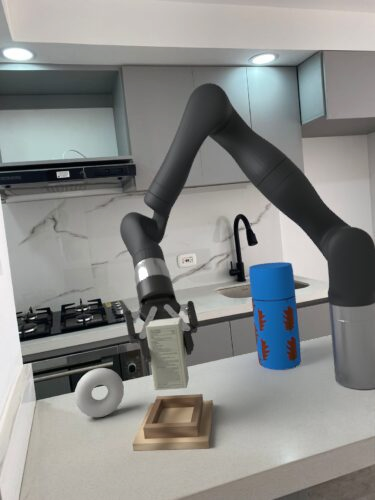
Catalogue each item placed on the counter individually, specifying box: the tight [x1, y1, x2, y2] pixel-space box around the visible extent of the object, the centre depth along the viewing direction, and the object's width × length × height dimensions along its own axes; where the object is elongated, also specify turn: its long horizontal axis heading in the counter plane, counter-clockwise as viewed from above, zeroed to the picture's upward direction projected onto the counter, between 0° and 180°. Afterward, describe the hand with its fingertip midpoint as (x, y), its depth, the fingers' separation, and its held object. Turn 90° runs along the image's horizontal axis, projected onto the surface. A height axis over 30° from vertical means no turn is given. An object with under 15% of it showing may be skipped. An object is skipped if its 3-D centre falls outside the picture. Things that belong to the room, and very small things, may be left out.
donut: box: [74, 367, 125, 418], centre depth 74 cm, size 10×4×10 cm, turn 109°
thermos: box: [248, 261, 302, 371], centre depth 91 cm, size 11×11×25 cm
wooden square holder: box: [132, 393, 214, 451], centre depth 67 cm, size 13×14×3 cm
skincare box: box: [146, 316, 190, 391], centre depth 67 cm, size 6×4×12 cm
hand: (169, 356), depth 65 cm, fingers closed on skincare box, 7 cm apart
